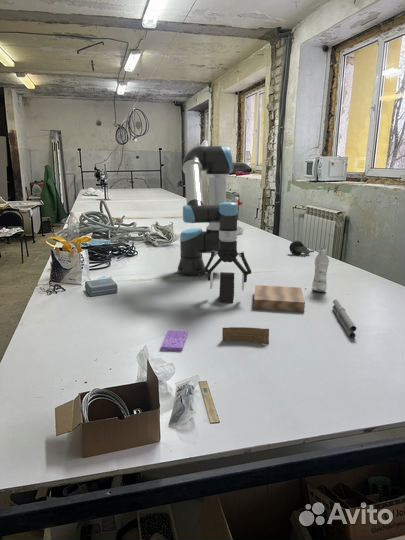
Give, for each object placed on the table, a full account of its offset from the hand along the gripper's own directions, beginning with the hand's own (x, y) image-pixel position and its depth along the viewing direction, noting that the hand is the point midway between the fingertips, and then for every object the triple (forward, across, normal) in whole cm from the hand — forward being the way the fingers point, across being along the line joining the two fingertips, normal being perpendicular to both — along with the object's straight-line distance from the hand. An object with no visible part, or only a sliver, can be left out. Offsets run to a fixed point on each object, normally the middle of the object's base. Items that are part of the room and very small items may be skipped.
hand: (227, 288), depth 159 cm
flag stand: (+3, -8, +150) cm, 151 cm away
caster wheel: (+4, +39, +86) cm, 95 cm away
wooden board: (+5, +22, 0) cm, 22 cm away
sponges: (+6, -13, -42) cm, 44 cm away
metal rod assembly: (+6, +45, -17) cm, 48 cm away
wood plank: (+6, +10, -38) cm, 40 cm away
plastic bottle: (+5, +41, +17) cm, 45 cm away
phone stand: (+5, 0, 0) cm, 5 cm away
